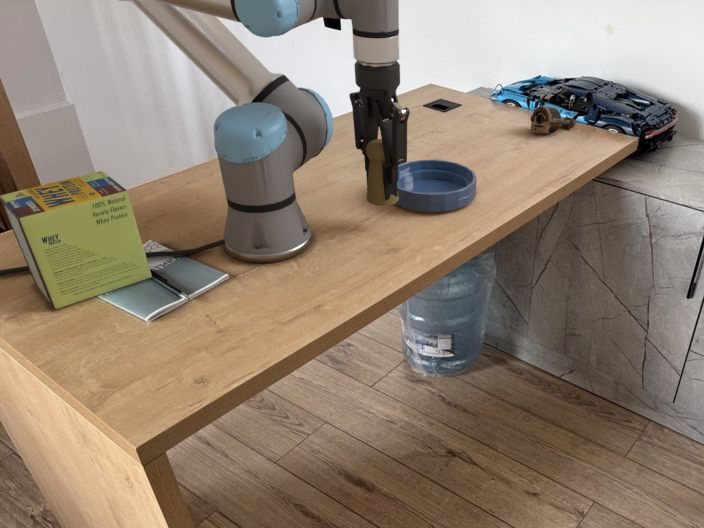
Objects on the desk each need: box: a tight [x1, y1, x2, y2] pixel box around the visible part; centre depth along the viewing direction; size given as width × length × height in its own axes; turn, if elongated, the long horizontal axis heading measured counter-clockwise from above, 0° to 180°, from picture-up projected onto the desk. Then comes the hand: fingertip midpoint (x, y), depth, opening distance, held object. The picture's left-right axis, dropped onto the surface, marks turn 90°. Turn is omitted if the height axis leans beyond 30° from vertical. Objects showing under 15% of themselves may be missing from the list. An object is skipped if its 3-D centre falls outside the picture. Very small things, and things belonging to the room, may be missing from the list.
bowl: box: [394, 159, 478, 214], centre depth 140 cm, size 18×18×4 cm
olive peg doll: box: [365, 138, 399, 207], centre depth 123 cm, size 6×6×11 cm
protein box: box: [0, 170, 153, 310], centre depth 106 cm, size 10×15×16 cm
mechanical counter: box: [529, 105, 577, 135], centre depth 173 cm, size 7×13×10 cm
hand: (382, 193), depth 125 cm, fingers closed on olive peg doll, 4 cm apart
